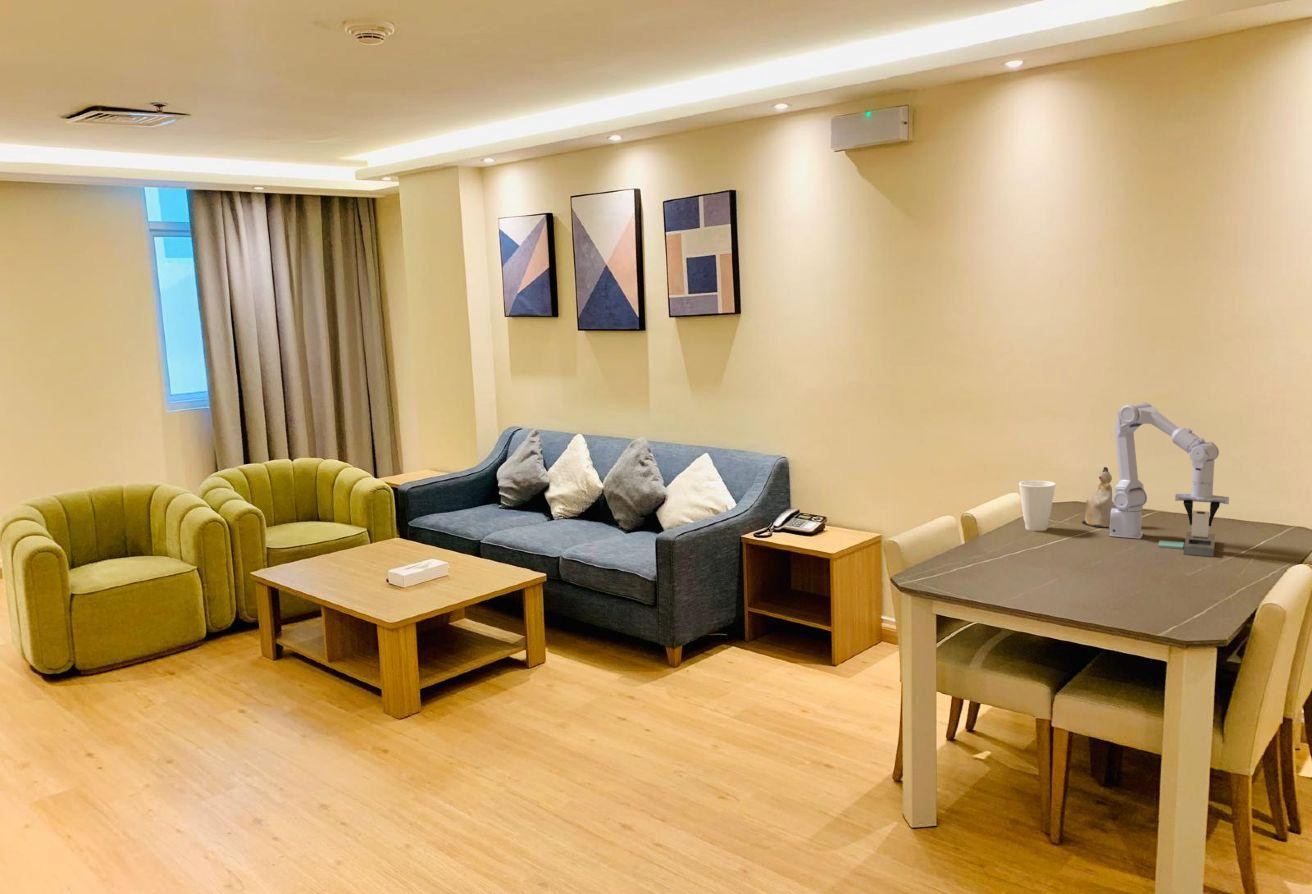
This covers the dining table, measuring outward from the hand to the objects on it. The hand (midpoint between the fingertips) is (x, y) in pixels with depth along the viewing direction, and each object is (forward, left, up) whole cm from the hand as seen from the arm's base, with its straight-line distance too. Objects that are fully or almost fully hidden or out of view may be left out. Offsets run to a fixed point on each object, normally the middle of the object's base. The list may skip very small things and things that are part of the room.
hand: (1200, 524), depth 310 cm
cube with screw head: (0, 0, -3) cm, 3 cm away
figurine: (-31, +26, -8) cm, 41 cm away
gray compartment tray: (0, +3, -8) cm, 9 cm away
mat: (-8, +3, -8) cm, 12 cm away
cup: (-50, +11, -8) cm, 52 cm away
